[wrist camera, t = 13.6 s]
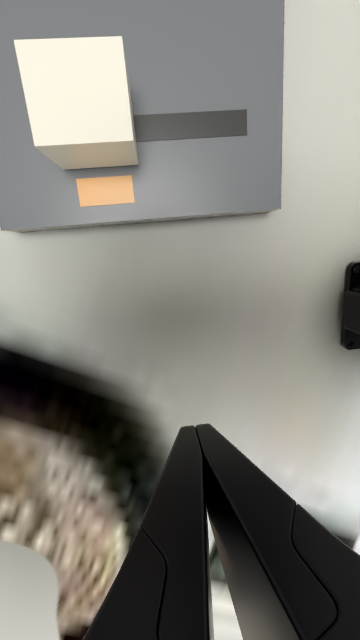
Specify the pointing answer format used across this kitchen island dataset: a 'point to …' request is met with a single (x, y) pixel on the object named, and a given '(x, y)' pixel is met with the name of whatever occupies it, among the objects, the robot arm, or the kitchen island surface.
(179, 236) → the kitchen island surface
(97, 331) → the kitchen island surface
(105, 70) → the cream cube
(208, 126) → the switch panel
